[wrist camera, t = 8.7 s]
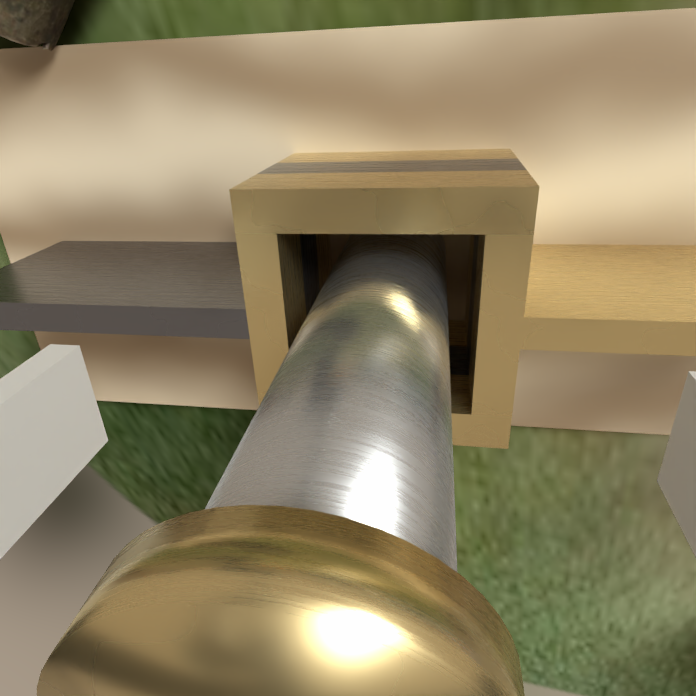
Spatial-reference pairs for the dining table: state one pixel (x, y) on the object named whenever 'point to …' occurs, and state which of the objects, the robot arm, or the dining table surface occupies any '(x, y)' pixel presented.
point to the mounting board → (360, 136)
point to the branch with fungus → (34, 21)
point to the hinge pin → (315, 526)
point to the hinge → (374, 218)
